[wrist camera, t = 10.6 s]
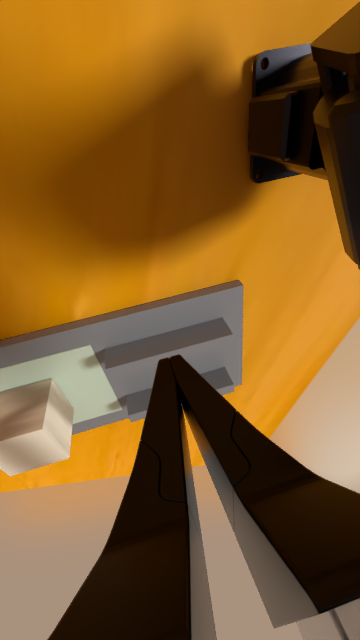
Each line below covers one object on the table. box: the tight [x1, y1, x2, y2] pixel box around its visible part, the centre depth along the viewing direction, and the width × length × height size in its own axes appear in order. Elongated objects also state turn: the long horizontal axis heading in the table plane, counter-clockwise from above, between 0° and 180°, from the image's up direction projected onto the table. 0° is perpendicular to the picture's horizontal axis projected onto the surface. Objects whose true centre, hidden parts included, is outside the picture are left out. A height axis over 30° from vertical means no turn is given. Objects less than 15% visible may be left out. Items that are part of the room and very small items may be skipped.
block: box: [0, 378, 74, 476], centre depth 23 cm, size 5×5×5 cm
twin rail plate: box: [0, 280, 243, 435], centre depth 25 cm, size 23×14×4 cm, turn 98°
